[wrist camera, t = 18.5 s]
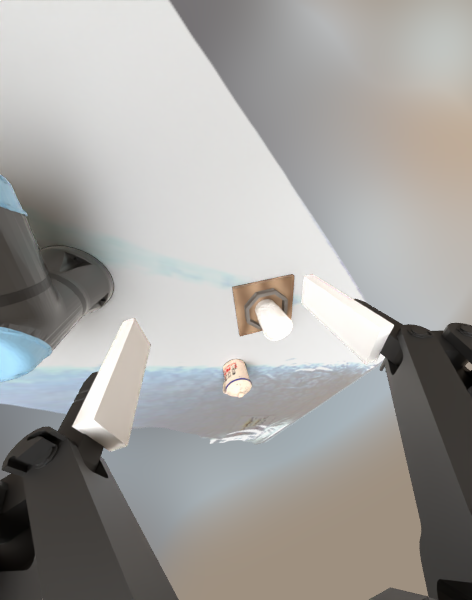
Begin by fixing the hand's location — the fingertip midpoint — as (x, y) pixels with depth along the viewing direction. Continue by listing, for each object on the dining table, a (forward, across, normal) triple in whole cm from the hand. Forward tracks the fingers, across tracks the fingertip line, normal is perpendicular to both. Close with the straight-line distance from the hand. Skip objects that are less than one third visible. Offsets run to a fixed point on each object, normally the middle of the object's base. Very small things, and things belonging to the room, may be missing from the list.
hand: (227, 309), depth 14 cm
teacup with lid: (+31, 0, -50) cm, 59 cm away
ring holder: (+31, +14, -24) cm, 42 cm away
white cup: (+30, +14, -24) cm, 41 cm away
